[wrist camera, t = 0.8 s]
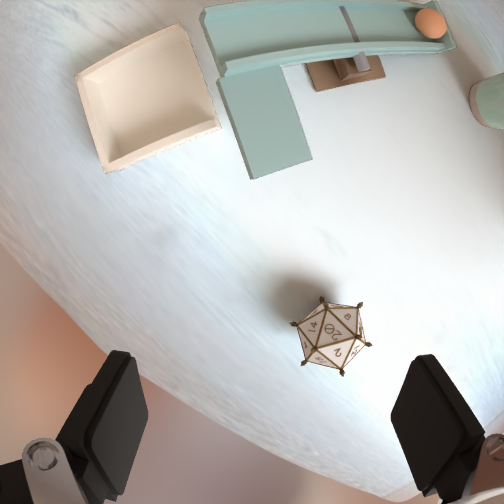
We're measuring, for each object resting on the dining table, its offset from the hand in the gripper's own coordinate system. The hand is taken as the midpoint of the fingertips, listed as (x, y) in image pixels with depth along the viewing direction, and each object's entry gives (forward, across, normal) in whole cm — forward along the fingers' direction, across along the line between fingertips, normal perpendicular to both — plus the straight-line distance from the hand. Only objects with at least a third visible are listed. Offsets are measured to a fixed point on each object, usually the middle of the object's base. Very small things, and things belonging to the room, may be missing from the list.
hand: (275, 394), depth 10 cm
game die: (+26, -8, +12) cm, 29 cm away
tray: (+26, +12, -13) cm, 31 cm away
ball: (+22, -17, -23) cm, 36 cm away
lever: (+21, -8, -17) cm, 28 cm away
